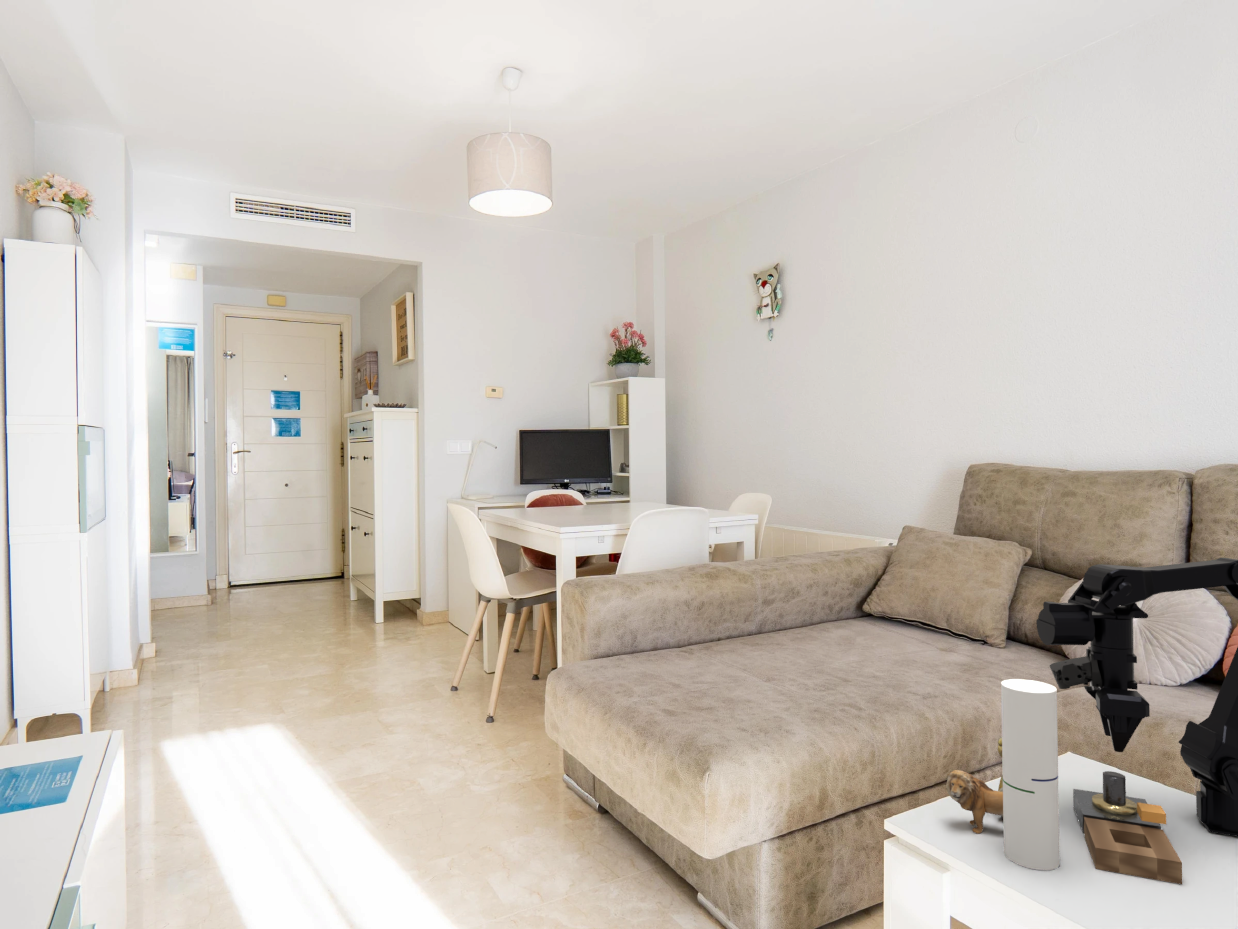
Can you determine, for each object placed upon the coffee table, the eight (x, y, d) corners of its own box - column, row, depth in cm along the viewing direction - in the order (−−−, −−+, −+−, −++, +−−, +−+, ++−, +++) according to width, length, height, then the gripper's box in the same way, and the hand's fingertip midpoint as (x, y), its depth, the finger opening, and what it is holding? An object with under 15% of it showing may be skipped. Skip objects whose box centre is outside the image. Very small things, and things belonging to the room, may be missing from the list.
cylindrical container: (1068, 872, 103) (1064, 694, 103) (1012, 867, 104) (1009, 691, 105) (1048, 847, 110) (1046, 680, 110) (997, 842, 111) (994, 678, 112)
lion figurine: (947, 833, 115) (946, 775, 115) (946, 818, 119) (945, 762, 120) (1055, 849, 109) (1054, 789, 109) (1048, 833, 114) (1047, 775, 114)
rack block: (1163, 849, 109) (1162, 829, 109) (1182, 884, 100) (1181, 862, 100) (1084, 836, 113) (1083, 817, 113) (1095, 868, 104) (1095, 847, 104)
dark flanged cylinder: (1133, 821, 118) (1132, 771, 118) (1142, 838, 112) (1141, 785, 112) (1089, 814, 120) (1088, 765, 120) (1096, 830, 115) (1095, 779, 115)
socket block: (1145, 817, 119) (1145, 799, 119) (1161, 846, 110) (1160, 826, 110) (1073, 806, 123) (1073, 788, 123) (1083, 833, 114) (1082, 814, 114)
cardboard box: (1161, 815, 111) (1160, 805, 111) (1166, 824, 108) (1166, 814, 108) (1137, 812, 112) (1137, 802, 112) (1141, 820, 109) (1141, 810, 109)
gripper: (1046, 629, 128) (1048, 718, 128) (1060, 654, 111) (1062, 757, 111) (1122, 634, 124) (1124, 727, 124) (1149, 661, 107) (1151, 768, 107)
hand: (1113, 743), depth 116 cm, fingers open, 7 cm apart
